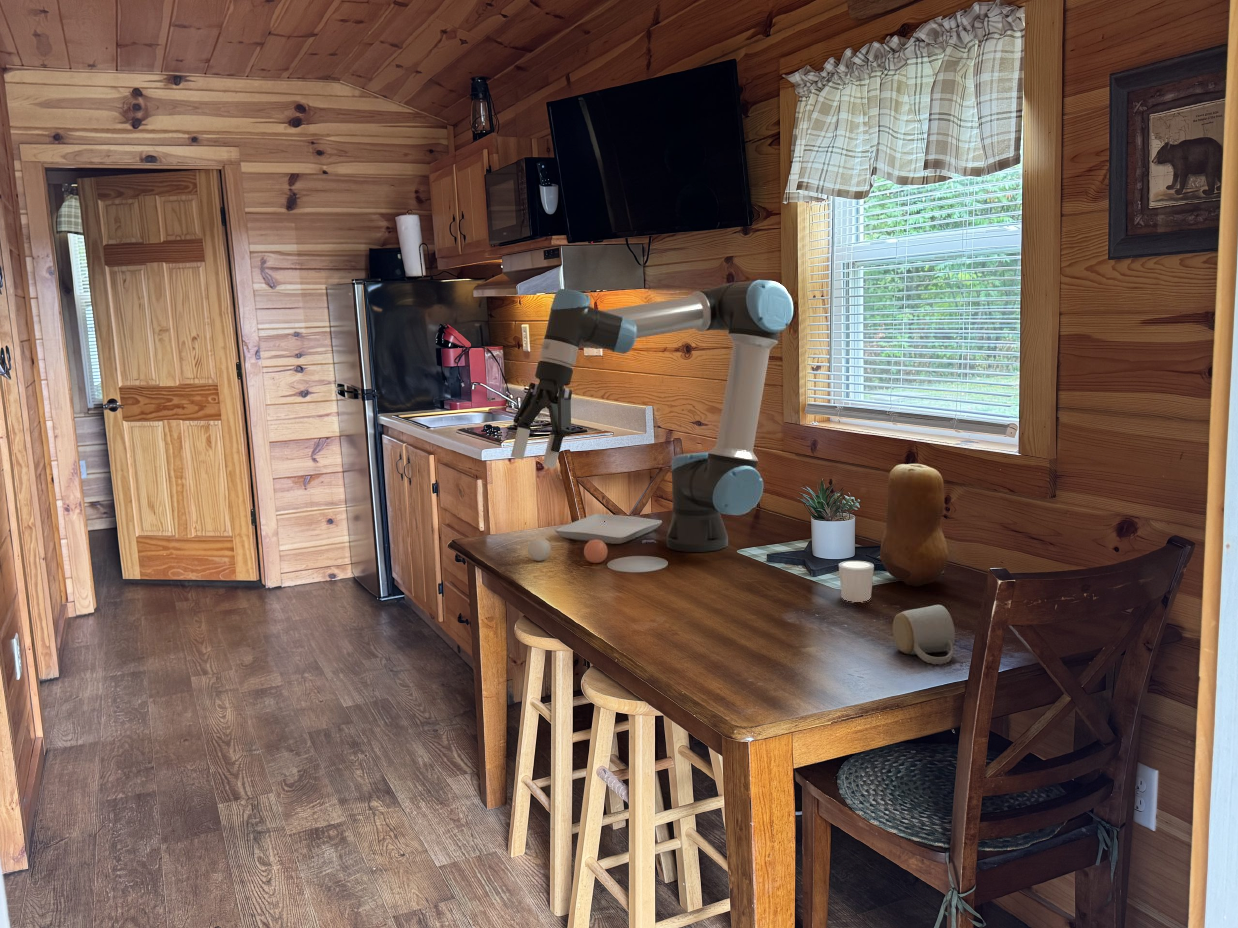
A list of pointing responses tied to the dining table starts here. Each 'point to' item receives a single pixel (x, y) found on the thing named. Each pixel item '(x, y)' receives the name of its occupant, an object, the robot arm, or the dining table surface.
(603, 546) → the coral ball
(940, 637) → the ceramic mug
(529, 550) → the ivory ball
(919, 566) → the butternut squash
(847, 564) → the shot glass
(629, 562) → the oval plate
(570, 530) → the salad plate
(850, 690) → the dining table surface
